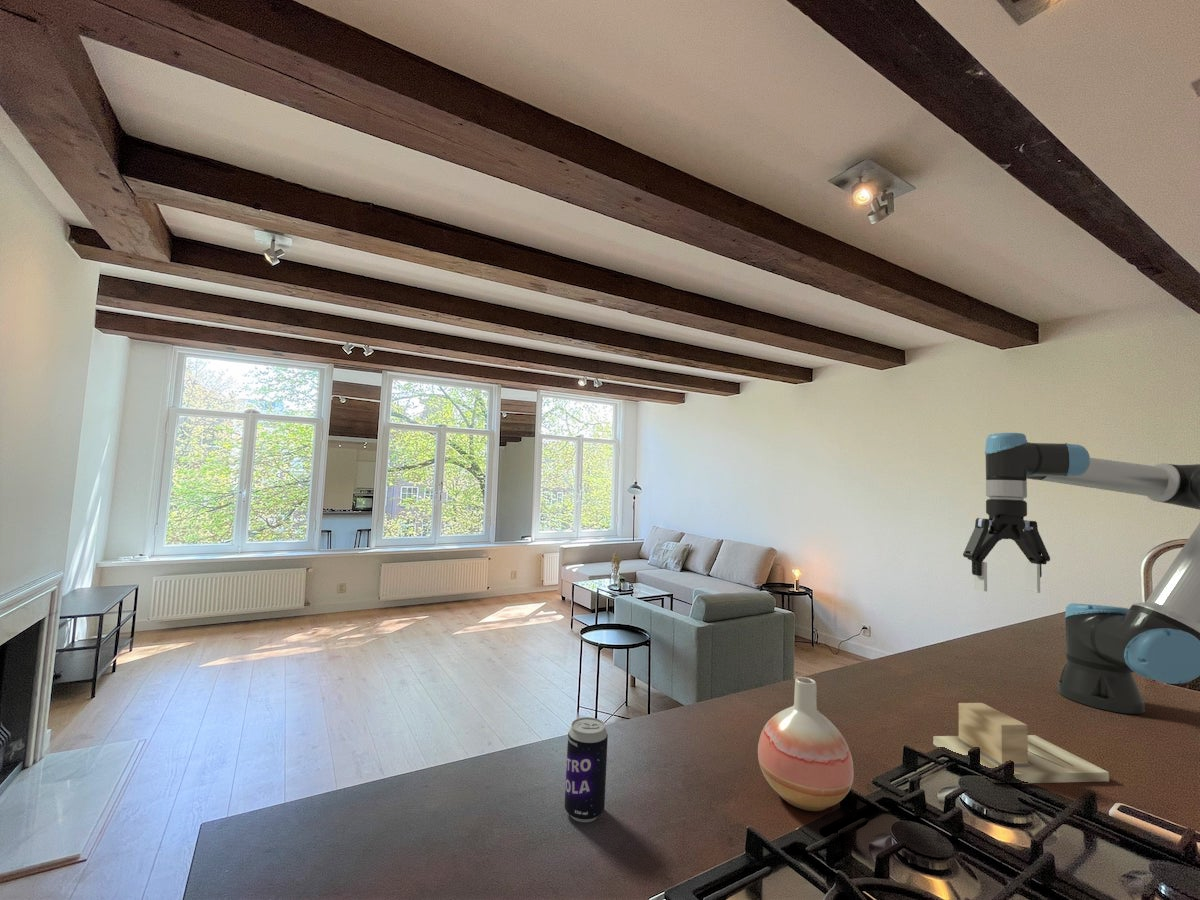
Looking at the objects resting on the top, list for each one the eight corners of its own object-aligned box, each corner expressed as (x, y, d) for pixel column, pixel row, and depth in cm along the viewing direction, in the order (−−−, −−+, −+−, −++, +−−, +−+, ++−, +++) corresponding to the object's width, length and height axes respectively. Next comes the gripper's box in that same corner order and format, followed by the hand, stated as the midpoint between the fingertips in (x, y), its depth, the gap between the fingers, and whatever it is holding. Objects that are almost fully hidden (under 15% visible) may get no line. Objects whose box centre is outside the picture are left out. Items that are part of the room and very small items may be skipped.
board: (1035, 742, 100) (1035, 735, 100) (1109, 781, 87) (1108, 772, 87) (933, 744, 97) (933, 736, 97) (993, 783, 84) (993, 774, 84)
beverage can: (563, 800, 74) (568, 715, 75) (602, 800, 75) (606, 716, 75) (564, 826, 68) (569, 734, 69) (606, 826, 69) (610, 734, 70)
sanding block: (958, 741, 96) (958, 702, 96) (982, 740, 96) (982, 702, 97) (1001, 767, 87) (1001, 725, 87) (1027, 767, 87) (1027, 725, 88)
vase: (875, 821, 73) (876, 695, 74) (794, 834, 69) (797, 701, 70) (810, 769, 86) (812, 662, 87) (739, 778, 82) (742, 666, 83)
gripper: (1037, 500, 124) (1038, 588, 122) (944, 496, 121) (945, 586, 119) (1069, 501, 116) (1071, 595, 115) (971, 496, 113) (972, 593, 112)
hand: (1007, 591), depth 117 cm, fingers open, 13 cm apart
